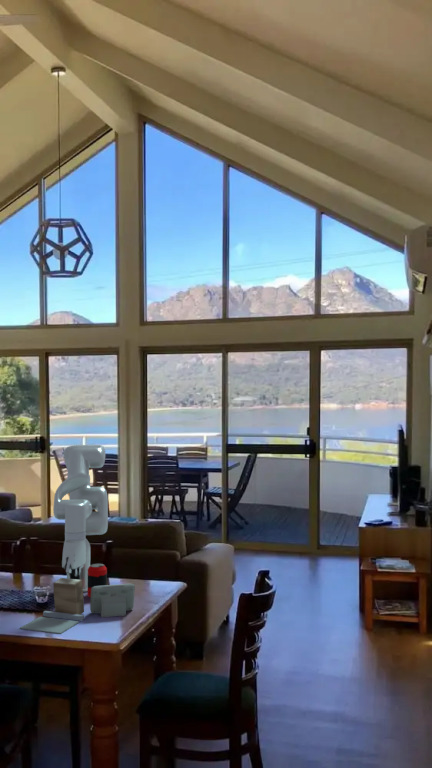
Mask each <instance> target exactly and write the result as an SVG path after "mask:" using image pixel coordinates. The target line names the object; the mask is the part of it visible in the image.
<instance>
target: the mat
mask: <svg viewBox="0 0 432 768" xmlns="http://www.w3.org/2000/svg"><path fill="white" fill-rule="evenodd" d="M79 623H80V621H79V620H71V619H62V618H54V617H46V616H39V617H37V618H35V619H33V620H31V621H29V622H27V623H26V624H24V625H22V626H21V627H19V630H25V631H34V632H41V633H50V634H59V635H62V634H63V633H65V632H66V631H68V630H70V629H72V628H73V627H75V626H77V625H78V624H79Z"/></svg>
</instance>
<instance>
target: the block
mask: <svg viewBox="0 0 432 768" xmlns="http://www.w3.org/2000/svg"><path fill="white" fill-rule="evenodd" d="M52 585H53V599H54V612H60V613H69V614H78V615H83V613H84V612H85V606H84V605H85V604H84V592H83V585H82V580H78V579H67V577H60V578H58V579H57V580H56V581H55V582H53V584H52Z"/></svg>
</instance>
